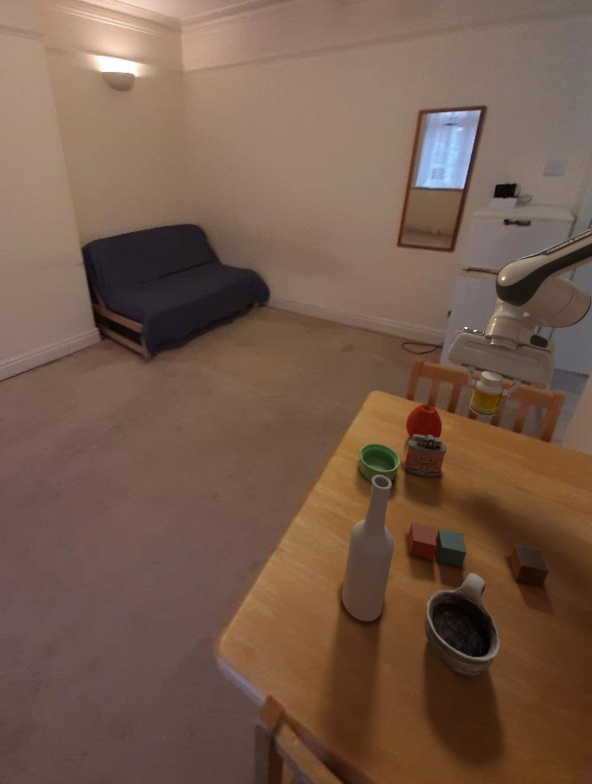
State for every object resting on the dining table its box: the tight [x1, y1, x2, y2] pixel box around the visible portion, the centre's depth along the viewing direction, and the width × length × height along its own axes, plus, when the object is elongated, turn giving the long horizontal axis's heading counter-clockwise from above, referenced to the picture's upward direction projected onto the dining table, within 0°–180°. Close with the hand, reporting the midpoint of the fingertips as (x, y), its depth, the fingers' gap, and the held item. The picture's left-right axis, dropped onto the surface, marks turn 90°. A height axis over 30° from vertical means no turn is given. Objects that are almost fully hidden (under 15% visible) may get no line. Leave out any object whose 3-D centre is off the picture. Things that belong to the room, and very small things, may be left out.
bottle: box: [341, 475, 395, 622], centre depth 63 cm, size 7×7×28 cm
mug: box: [424, 572, 501, 677], centre depth 62 cm, size 10×12×10 cm
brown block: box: [508, 544, 550, 587], centre depth 72 cm, size 4×4×4 cm
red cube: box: [408, 522, 437, 560], centre depth 77 cm, size 4×4×4 cm
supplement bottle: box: [469, 371, 504, 418], centre depth 90 cm, size 5×5×10 cm
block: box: [435, 528, 467, 567], centre depth 75 cm, size 4×4×4 cm
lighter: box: [403, 434, 448, 477], centre depth 93 cm, size 8×3×10 cm, turn 74°
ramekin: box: [358, 442, 401, 482], centre depth 94 cm, size 9×9×4 cm
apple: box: [405, 403, 443, 440], centre depth 102 cm, size 8×8×11 cm
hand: (487, 392), depth 90 cm, fingers closed on supplement bottle, 5 cm apart
